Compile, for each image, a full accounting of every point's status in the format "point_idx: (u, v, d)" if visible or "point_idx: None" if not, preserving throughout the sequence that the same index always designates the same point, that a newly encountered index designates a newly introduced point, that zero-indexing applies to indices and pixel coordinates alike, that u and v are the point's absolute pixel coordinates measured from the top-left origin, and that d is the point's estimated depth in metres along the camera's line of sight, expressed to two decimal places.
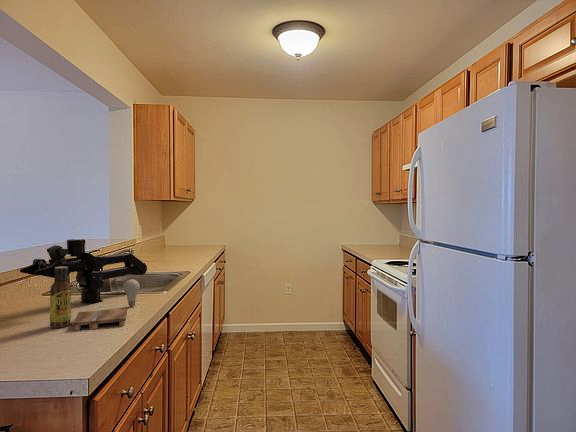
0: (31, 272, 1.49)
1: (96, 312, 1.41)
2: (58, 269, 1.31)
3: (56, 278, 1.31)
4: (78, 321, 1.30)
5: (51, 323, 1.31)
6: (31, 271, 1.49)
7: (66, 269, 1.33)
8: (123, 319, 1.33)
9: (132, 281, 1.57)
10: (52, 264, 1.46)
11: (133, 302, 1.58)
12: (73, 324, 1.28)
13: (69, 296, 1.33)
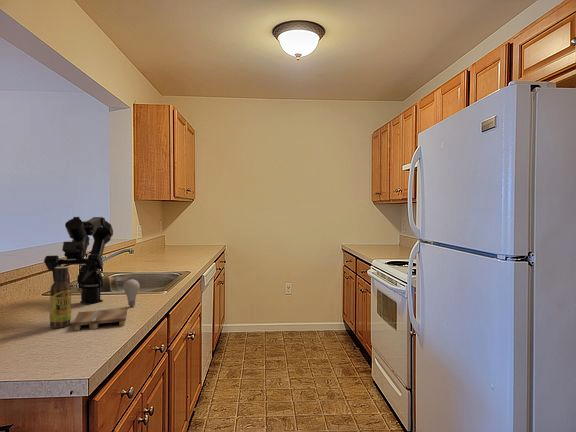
0: None
1: (96, 312, 1.41)
2: (58, 269, 1.31)
3: (56, 278, 1.31)
4: (78, 321, 1.30)
5: (51, 323, 1.31)
6: None
7: (66, 269, 1.33)
8: (123, 319, 1.33)
9: (132, 281, 1.57)
10: (86, 263, 1.44)
11: (133, 302, 1.58)
12: (73, 324, 1.28)
13: (69, 296, 1.33)
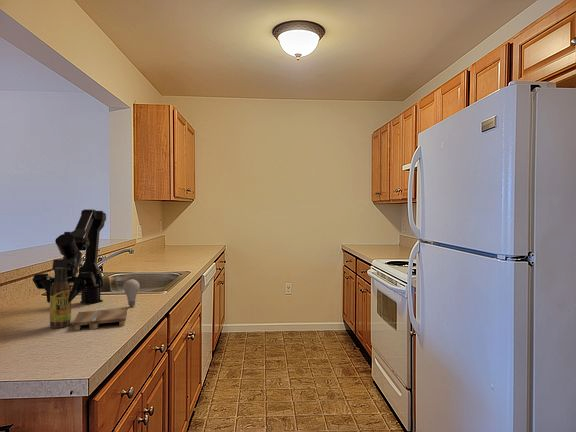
0: None
1: (96, 312, 1.41)
2: (58, 269, 1.31)
3: (56, 278, 1.31)
4: (78, 321, 1.30)
5: (51, 323, 1.31)
6: None
7: (66, 269, 1.33)
8: (123, 319, 1.33)
9: (132, 281, 1.57)
10: (74, 282, 1.35)
11: (133, 302, 1.58)
12: (73, 324, 1.28)
13: None
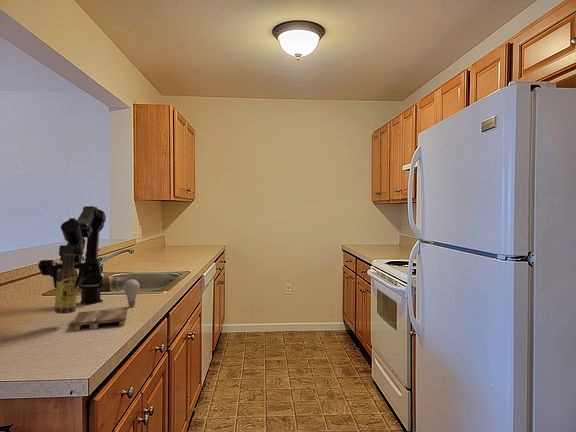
0: None
1: (96, 312, 1.41)
2: (66, 255, 1.32)
3: (64, 264, 1.32)
4: (78, 321, 1.30)
5: (57, 309, 1.31)
6: None
7: (74, 256, 1.33)
8: (123, 319, 1.33)
9: (132, 281, 1.57)
10: (80, 268, 1.35)
11: (133, 302, 1.58)
12: (73, 324, 1.28)
13: None
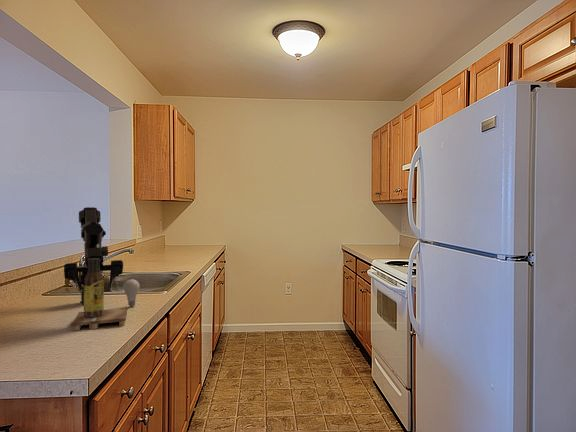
0: None
1: None
2: (94, 260, 1.35)
3: (91, 269, 1.35)
4: (78, 321, 1.30)
5: (87, 313, 1.34)
6: None
7: (99, 260, 1.37)
8: (123, 319, 1.33)
9: (132, 281, 1.57)
10: (111, 269, 1.40)
11: (133, 302, 1.58)
12: (73, 324, 1.28)
13: (103, 286, 1.37)
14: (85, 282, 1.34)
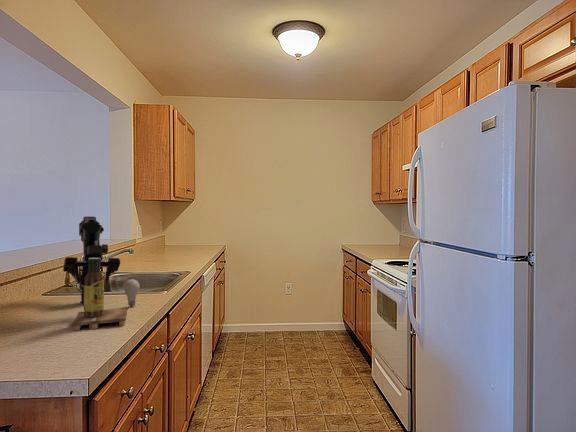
0: None
1: None
2: (94, 260, 1.35)
3: (91, 269, 1.35)
4: (78, 321, 1.30)
5: (87, 313, 1.34)
6: None
7: (100, 260, 1.37)
8: (123, 319, 1.33)
9: (132, 281, 1.57)
10: (109, 266, 1.49)
11: (133, 302, 1.58)
12: (73, 324, 1.28)
13: (103, 286, 1.37)
14: (85, 282, 1.34)
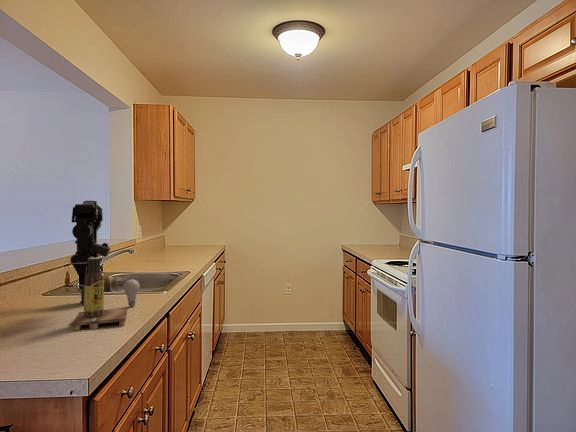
0: None
1: None
2: (94, 260, 1.35)
3: (91, 269, 1.35)
4: (78, 321, 1.30)
5: (87, 313, 1.34)
6: None
7: (100, 260, 1.37)
8: (123, 319, 1.33)
9: (132, 281, 1.57)
10: None
11: (133, 302, 1.58)
12: (73, 324, 1.28)
13: (103, 286, 1.37)
14: (85, 282, 1.34)
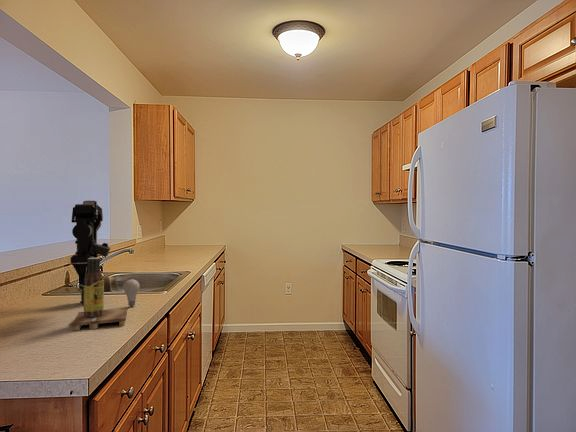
0: None
1: None
2: (93, 260, 1.35)
3: (91, 269, 1.35)
4: (78, 321, 1.30)
5: (87, 313, 1.34)
6: None
7: (99, 260, 1.37)
8: (123, 319, 1.33)
9: (132, 281, 1.57)
10: None
11: (133, 302, 1.58)
12: (73, 324, 1.28)
13: (103, 286, 1.37)
14: (85, 282, 1.34)
